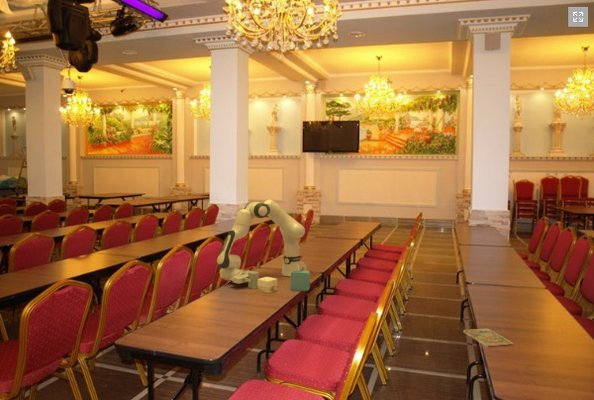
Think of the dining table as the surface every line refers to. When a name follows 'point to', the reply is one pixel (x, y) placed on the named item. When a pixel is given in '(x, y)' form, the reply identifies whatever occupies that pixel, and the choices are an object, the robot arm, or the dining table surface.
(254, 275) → the grey column
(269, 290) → the tower block lower
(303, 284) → the data package
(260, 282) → the tower block upper
